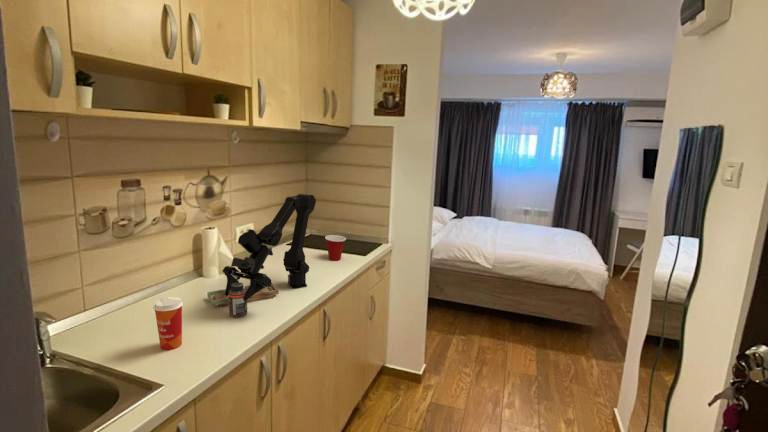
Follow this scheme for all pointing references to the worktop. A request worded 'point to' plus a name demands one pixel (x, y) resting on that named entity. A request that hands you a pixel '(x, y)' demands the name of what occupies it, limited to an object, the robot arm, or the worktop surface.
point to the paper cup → (169, 322)
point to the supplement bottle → (237, 300)
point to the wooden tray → (260, 295)
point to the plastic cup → (335, 246)
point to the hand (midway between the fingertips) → (234, 297)
